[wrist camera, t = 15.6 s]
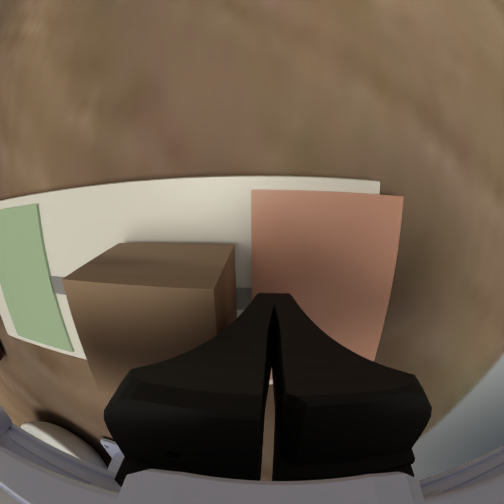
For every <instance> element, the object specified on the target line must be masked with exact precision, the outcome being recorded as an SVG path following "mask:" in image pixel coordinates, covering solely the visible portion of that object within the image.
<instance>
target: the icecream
mask: <svg viewBox="0 0 504 504" xmlns="http://www.w3.org/2000/svg"><path fill="white" fill-rule="evenodd" d="M2 358H3V350H2V348H1V346H0V360H1V359H2Z"/></svg>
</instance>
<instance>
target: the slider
mask: <svg viewBox="0 0 504 504" xmlns="http://www.w3.org/2000/svg"><path fill="white" fill-rule="evenodd" d="M62 282H63V286H64V290H65V294H66V297H67V301H68V305H69V308H70V311H71V315H72V318H73V321H74V325H75V328H76V331H77V334H78V337H79V340H80V342H81V345H82V348H83V351H84V353H85V356H86V359H87V361H88V364H89V366H90V369H91V371H92V374H93V376H94V378H95V381H96V383H97V385H98V388H99V390H100V392H101V394H102V395H104V396H108V397H112V396H113V395H114V393H115V391H116V390H117V388H118V386H119V385H120V383H121V382H122V380H123V379H124V377H125V376H126V375H127V373H128V372H129V371H130V369H134V368H138V367H143V366H147V365H150V364H154V363H158V362H162V361H165V360H168V359H170V358H173V357H176V356H178V355H181V354H183V353H186V352H188V351H190V350H192V349H194V348H196V347H198V346H199V345H201V344H203V343H205V342H207V341H209V340H210V339H212V338H213V337H215V336H216V335H218V334H219V333H221V332H222V331H223V330H224V329H226V328H227V327H228V326H229V325H230V324H231V323H232V322H233V321H234V320H235V319H236V318H237V301H236V270H235V244H209V243H118V244H116V245H115V246H113V247H111V248H110V249H108V250H107V251H105V252H103V253H102V254H100V255H98V256H97V257H95V258H94V259H92V260H91V261H89V262H87V263H86V264H84V265H83V266H81V267H80V268H78V269H76V270H75V271H73V272H72V273H70V274H69V275H67V276H66V277H64V278H63V279H62Z"/></svg>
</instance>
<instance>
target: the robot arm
mask: <svg viewBox="0 0 504 504" xmlns="http://www.w3.org/2000/svg"><path fill="white" fill-rule="evenodd" d="M271 368H272V378H273V390H274V402H275V431H274V455H273V474H272V481H260V477H261V463H262V447H263V432H264V415H265V406H266V400H267V394H268V388H269V381H270V375H271ZM431 409H432V407H431V405H430V403H429V401H428V398H427V396H426V394H425V392H424V390H423V388H422V386H421V385H420V383H419V381H418V380H417V378H416V377H415V375H413V374H409V373H406V372H402V371H399V370H396V369H392V368H389V367H386V366H383V365H381V364H378V363H376V362H373V361H371V360H368V359H366V358H364V357H362V356H360V355H358V354H356V353H355V352H353V351H351V350H349V349H348V348H346V347H344V346H343V345H341V344H339V343H338V342H337V341H335V340H334V339H332V338H331V337H330V336H328V335H327V334H326V333H325V332H323V331H322V330H321V329H320V328H319V327H318V326H317V325H316V324H315V323H314V322H313V321H312V320H311V319H310V318H309V317H308V316H307V315H306V314H305V312H304V311H303V310H302V309H301V308H300V306H299V305H298V304H297V302H296V301H295V300H294V298H293V297H292V295H291V294H290V293H258V294H257V295H256V296H255V297H254V299H253V300H252V301H251V303H250V304H249V305H248V306H247V308H246V309H245V310H244V311H243V312H242V313H241V314H240V315H239V316H238V317H237V318H236V319H235V320H234V321H233V322H232V323H231V324H230V325H229V326H228V327H227V328H226V329H224V330H223V331H222V332H221V333H219V334H218V335H216V336H215V337H213V338H212V339H210V340H209V341H207V342H205V343H203V344H201V345H199V346H198V347H196V348H194V349H192V350H190V351H188V352H186V353H183V354H181V355H178V356H176V357H173V358H170V359H168V360H165V361H162V362H158V363H154V364H150V365H147V366H143V367H138V368H134V369H130V371H129V372H128V373H127V375H126V376H125V377H124V379H123V380H122V382H121V383H120V385H119V386H118V388H117V390H116V391H115V393H114V395H113V396H112V398H111V400H110V401H109V403H108V405H107V406H106V408H105V410H104V421H105V423H106V426H107V428H108V430H109V432H110V434H111V435H112V437H113V439H114V440H115V441H112V440H108V439H105V438H101V440H100V442H101V444H102V445H103V447H104V448H105V449H106V451H107V452H108V454H109V455H110V457H111V458H112V460H111V462H110V464H109V466H108V469H107V470H106V469H103V468H101V467H98V466H95V465H93V464H90V463H88V462H86V461H83V460H81V459H79V458H76V457H74V456H72V455H70V454H68V453H66V452H64V451H61V450H59V449H57V448H55V447H54V446H52V445H50V444H48V443H46V442H44V441H42V440H40V439H39V438H37V437H35V436H33V435H32V434H30V433H28V432H27V431H25V430H23V429H22V428H20V427H18V426H17V425H15V424H14V423H12V420H11V419H10V417H9V416H8V414H7V413H6V412H5V410H4V409H3V408H2V407H1V406H0V487H1V488H2V489H4V490H5V491H6V492H7V493H9V494H10V495H11V496H12V497H14V498H15V499H16V500H18V501H19V502H20V503H22V504H504V445H503V446H501V447H499V448H498V449H496V450H494V451H492V452H490V453H488V454H486V455H484V456H481V457H479V458H477V459H475V460H473V461H471V462H468V463H466V464H464V465H461V466H459V467H456V468H454V469H451V470H448V471H446V472H443V473H440V474H438V475H434V476H432V477H428V478H425V479H422V480H418V479H417V478H415V477H414V473H413V470H412V467H411V464H413V462H414V461H415V457H414V454H413V451H412V447H413V445H414V444H415V442H416V441H417V440H418V438H419V437H420V435H421V434H422V432H423V430H424V429H425V427H426V425H427V423H428V421H429V419H430V417H431Z"/></svg>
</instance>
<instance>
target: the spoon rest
mask: <svg viewBox="0 0 504 504" xmlns="http://www.w3.org/2000/svg"><path fill="white" fill-rule="evenodd" d="M21 428H22V429H23V430H25V431H27V432H28V433H30V434H32V435H33V436H35V437H37V438H39V439H40V440H42V441H44V442H46V443H48V444H50V445H52V446H54V447H55V448H57V449H59V450H61V451H64V452H66V453H68V454H70V455H72V456H74V457H76V458H79V459H81V460H83V461H86V462H88V463H90V464H93V465H95V466H98V467H101V468H103V469H106V470H107V469H108V468H107V466H106V465H105V463H104V461H103V460H102V459H101V457H100V455H99V454H98V453H97V452H96V451H95V450H94V449H93V448H92V447H91V446H90V445H89V444H88V443H86V442H85V441H84V440H82V439H81V438H79V437H78V436H76V435H75V434H73V433H71V432H69V431H68V430H66V429H64V428H62V427H60V426H57V425H54V424H51V423H48V422H42V421H31V422H25V423H23V424H22V425H21Z"/></svg>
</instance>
